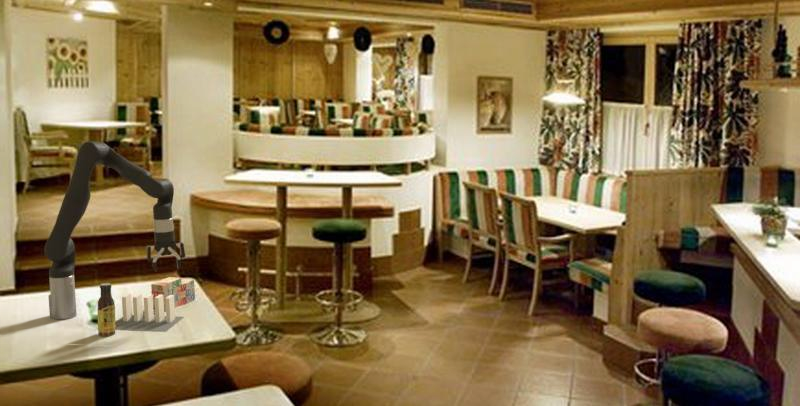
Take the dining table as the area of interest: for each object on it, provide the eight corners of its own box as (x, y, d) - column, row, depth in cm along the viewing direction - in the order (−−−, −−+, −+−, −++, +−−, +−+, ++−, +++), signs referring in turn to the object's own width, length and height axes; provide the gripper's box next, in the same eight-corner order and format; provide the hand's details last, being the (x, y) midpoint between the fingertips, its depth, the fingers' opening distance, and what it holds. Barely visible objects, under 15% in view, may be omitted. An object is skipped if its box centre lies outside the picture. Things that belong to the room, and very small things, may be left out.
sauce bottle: (105, 338, 284) (102, 287, 281) (94, 335, 288) (91, 285, 284) (120, 334, 290) (117, 283, 287) (109, 331, 293) (106, 281, 290)
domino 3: (144, 321, 304) (143, 297, 302) (150, 317, 308) (148, 294, 307) (148, 321, 303) (147, 297, 302) (153, 318, 308) (152, 294, 307)
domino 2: (133, 321, 304) (132, 297, 302) (139, 317, 309) (138, 293, 307) (137, 321, 304) (136, 297, 302) (143, 317, 309) (141, 293, 307)
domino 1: (123, 320, 304) (121, 296, 303) (128, 317, 309) (127, 293, 308) (126, 321, 304) (125, 296, 303) (132, 317, 309) (131, 293, 308)
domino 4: (155, 322, 303) (154, 297, 302) (160, 318, 308) (159, 294, 306) (159, 322, 303) (158, 298, 301) (164, 318, 308) (163, 294, 306)
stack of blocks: (183, 298, 338) (182, 271, 336) (195, 300, 336) (194, 273, 334) (152, 311, 318) (150, 283, 317) (164, 313, 316) (163, 284, 314)
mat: (103, 330, 294) (103, 329, 294) (125, 315, 313) (125, 314, 312) (165, 332, 292) (165, 331, 291) (184, 317, 310) (184, 316, 310)
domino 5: (166, 322, 303) (165, 298, 301) (171, 318, 308) (170, 294, 306) (170, 322, 303) (169, 298, 301) (175, 318, 307) (174, 294, 306)
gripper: (181, 226, 304) (184, 265, 306) (144, 230, 298) (147, 270, 301) (183, 229, 297) (187, 269, 300) (145, 233, 292) (149, 274, 294)
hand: (167, 270), depth 300 cm, fingers open, 8 cm apart
